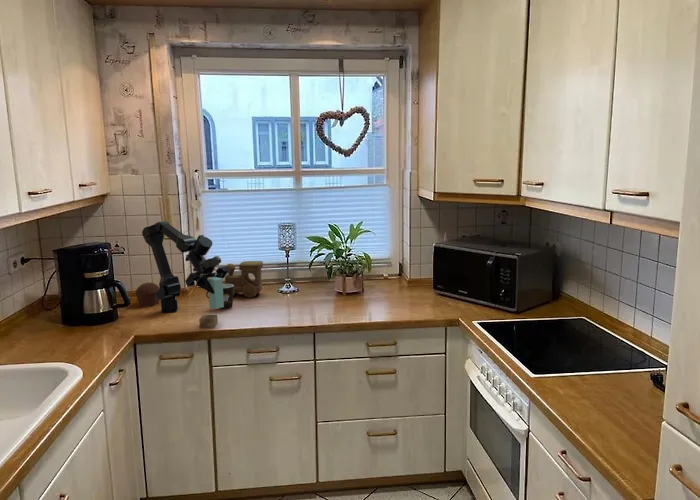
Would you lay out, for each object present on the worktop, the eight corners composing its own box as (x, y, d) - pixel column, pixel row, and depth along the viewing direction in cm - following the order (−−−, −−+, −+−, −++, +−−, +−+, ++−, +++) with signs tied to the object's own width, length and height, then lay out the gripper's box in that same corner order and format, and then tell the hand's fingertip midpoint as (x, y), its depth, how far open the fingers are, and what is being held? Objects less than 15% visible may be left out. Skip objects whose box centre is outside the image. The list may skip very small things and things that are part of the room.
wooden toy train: (264, 292, 269) (263, 260, 266) (260, 298, 258) (258, 264, 255) (225, 292, 270) (224, 260, 267) (219, 298, 259) (217, 265, 256)
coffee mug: (237, 304, 247) (236, 283, 245) (231, 310, 238) (230, 288, 236) (213, 304, 248) (211, 283, 246) (206, 309, 239) (204, 288, 238)
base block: (199, 328, 213) (199, 319, 212) (203, 324, 219) (202, 314, 218) (214, 328, 213) (214, 318, 213) (217, 323, 219) (217, 314, 218)
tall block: (209, 307, 218) (208, 279, 215) (217, 305, 221) (215, 277, 219) (216, 309, 215) (214, 280, 213) (223, 306, 218) (222, 278, 216)
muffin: (156, 307, 244) (154, 286, 243) (132, 307, 244) (130, 286, 243) (165, 300, 256) (163, 280, 254) (142, 301, 256) (141, 280, 254)
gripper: (187, 253, 209) (207, 284, 204) (225, 247, 224) (244, 276, 219) (177, 271, 215) (195, 301, 210) (214, 263, 230) (232, 291, 225)
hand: (218, 292), depth 216 cm, fingers closed on tall block, 4 cm apart
